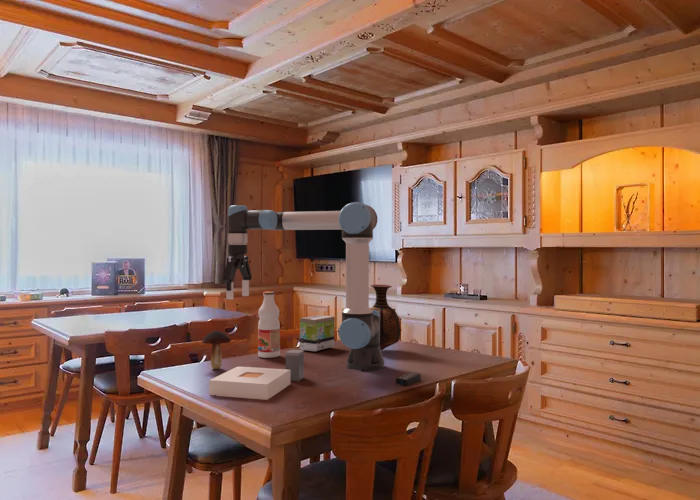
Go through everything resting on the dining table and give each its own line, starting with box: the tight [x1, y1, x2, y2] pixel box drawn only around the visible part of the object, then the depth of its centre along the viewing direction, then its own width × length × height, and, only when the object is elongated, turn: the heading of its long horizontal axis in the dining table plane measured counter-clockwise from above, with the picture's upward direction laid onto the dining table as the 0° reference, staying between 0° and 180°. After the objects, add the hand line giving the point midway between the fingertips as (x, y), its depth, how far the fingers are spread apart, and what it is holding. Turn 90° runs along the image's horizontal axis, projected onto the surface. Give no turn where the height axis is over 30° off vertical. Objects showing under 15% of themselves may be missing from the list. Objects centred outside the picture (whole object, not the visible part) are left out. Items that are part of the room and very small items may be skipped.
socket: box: [208, 366, 291, 401], centre depth 178 cm, size 20×20×5 cm
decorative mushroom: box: [201, 330, 232, 370], centre depth 207 cm, size 11×11×15 cm
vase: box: [369, 284, 401, 351], centre depth 244 cm, size 21×18×30 cm
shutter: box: [241, 373, 263, 378], centre depth 178 cm, size 6×6×1 cm
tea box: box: [299, 314, 336, 352], centre depth 249 cm, size 15×10×15 cm, turn 148°
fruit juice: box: [257, 290, 281, 359], centre depth 232 cm, size 9×9×28 cm
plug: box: [284, 349, 305, 382], centre depth 192 cm, size 5×5×10 cm
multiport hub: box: [395, 371, 422, 387], centre depth 188 cm, size 4×11×2 cm, turn 145°
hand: (237, 297), depth 212 cm, fingers open, 13 cm apart
